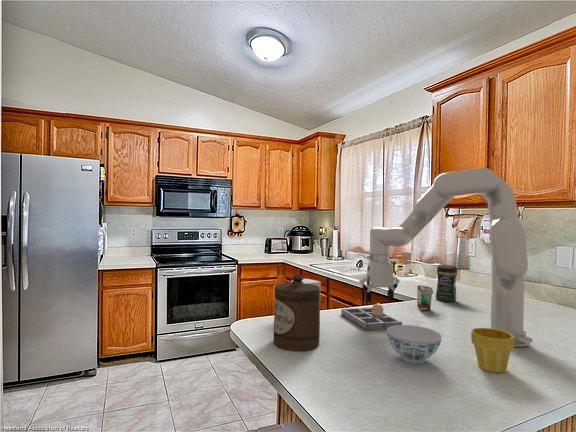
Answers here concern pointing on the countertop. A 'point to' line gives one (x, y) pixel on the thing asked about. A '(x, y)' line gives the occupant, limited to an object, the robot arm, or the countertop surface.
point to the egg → (377, 310)
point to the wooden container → (297, 315)
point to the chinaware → (414, 342)
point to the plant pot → (492, 348)
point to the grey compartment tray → (369, 319)
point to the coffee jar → (446, 283)
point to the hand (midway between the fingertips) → (379, 301)
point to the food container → (424, 297)
